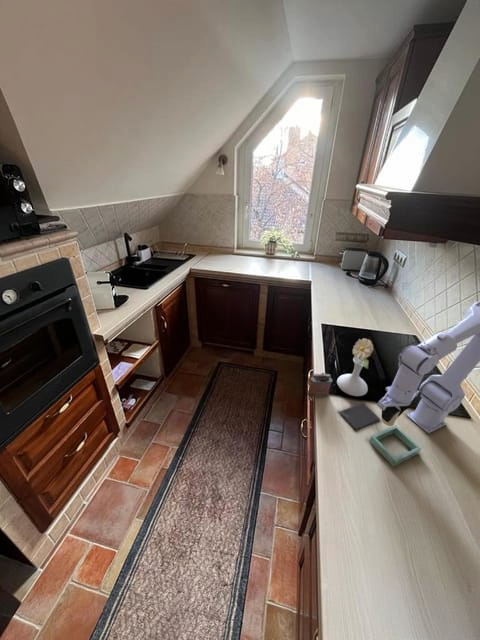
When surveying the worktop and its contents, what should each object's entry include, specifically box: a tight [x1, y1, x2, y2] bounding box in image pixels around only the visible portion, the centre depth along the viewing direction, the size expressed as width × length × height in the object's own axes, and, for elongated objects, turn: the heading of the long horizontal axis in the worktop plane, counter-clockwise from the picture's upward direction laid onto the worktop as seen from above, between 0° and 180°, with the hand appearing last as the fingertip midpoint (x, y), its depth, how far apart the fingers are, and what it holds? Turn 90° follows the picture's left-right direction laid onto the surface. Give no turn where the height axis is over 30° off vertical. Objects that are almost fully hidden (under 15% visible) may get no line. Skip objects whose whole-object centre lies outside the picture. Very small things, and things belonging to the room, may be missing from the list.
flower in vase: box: [336, 337, 374, 397], centre depth 94 cm, size 13×11×25 cm
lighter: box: [307, 372, 333, 398], centre depth 95 cm, size 8×3×10 cm, turn 92°
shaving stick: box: [381, 406, 401, 427], centre depth 77 cm, size 3×3×6 cm
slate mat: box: [339, 402, 381, 431], centre depth 89 cm, size 11×8×1 cm
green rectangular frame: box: [369, 424, 422, 467], centre depth 79 cm, size 11×9×2 cm
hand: (389, 417), depth 78 cm, fingers closed on shaving stick, 3 cm apart
